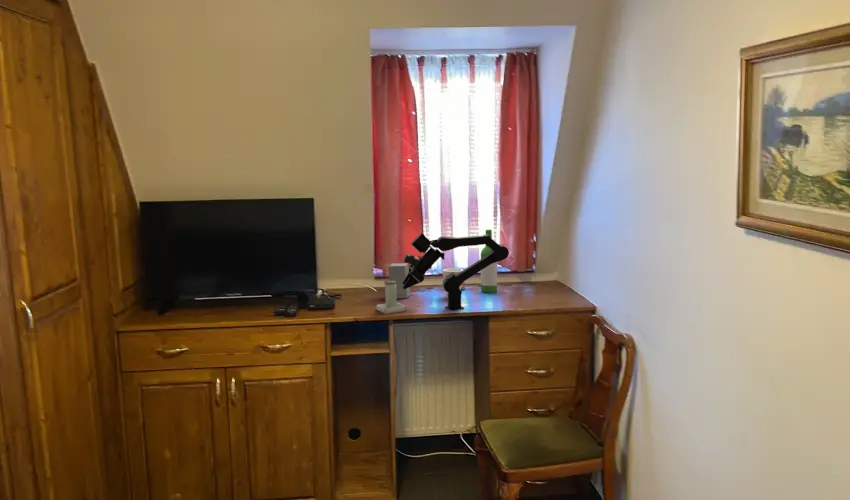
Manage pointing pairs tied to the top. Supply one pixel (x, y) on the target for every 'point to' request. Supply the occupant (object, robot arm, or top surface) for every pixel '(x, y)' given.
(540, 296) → the top surface
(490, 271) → the wine bottle
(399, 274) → the skincare box
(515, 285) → the top surface
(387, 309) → the tray
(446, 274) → the foam cup
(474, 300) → the top surface
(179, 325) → the top surface
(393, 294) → the peg
